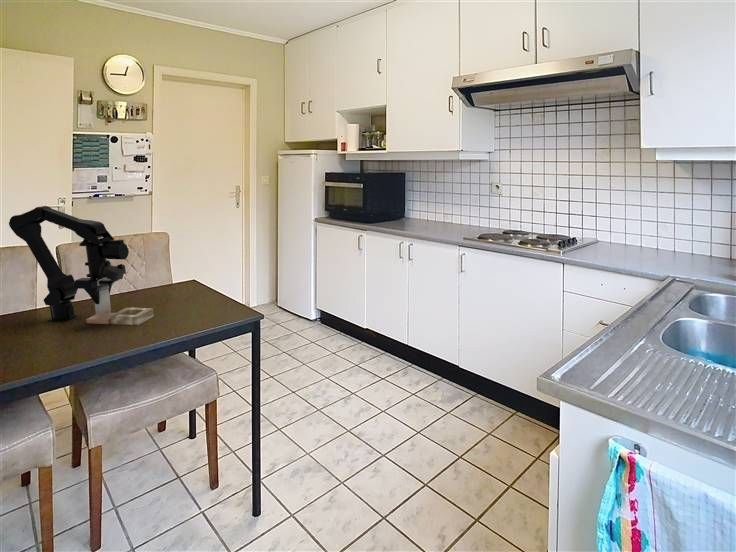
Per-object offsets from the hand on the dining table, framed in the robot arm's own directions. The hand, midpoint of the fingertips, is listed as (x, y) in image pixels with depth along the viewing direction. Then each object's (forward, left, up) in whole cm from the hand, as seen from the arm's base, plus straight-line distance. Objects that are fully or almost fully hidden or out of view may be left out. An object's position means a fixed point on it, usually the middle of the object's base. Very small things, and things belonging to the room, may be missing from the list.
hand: (102, 302), depth 171 cm
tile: (0, 0, -7) cm, 7 cm away
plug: (0, 0, -4) cm, 4 cm away
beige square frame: (+10, +1, -7) cm, 12 cm away
